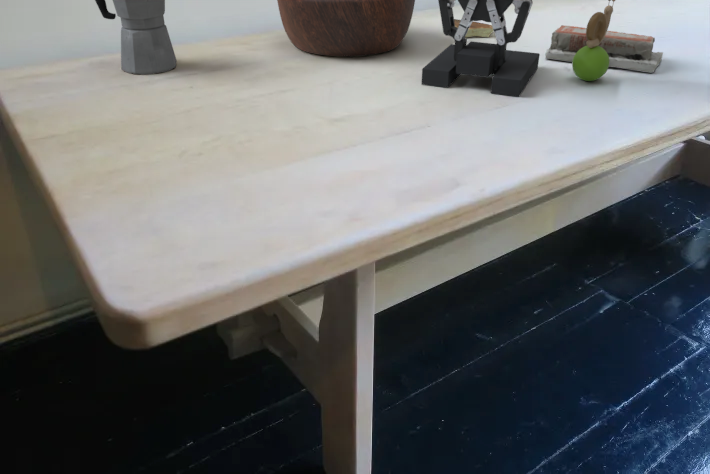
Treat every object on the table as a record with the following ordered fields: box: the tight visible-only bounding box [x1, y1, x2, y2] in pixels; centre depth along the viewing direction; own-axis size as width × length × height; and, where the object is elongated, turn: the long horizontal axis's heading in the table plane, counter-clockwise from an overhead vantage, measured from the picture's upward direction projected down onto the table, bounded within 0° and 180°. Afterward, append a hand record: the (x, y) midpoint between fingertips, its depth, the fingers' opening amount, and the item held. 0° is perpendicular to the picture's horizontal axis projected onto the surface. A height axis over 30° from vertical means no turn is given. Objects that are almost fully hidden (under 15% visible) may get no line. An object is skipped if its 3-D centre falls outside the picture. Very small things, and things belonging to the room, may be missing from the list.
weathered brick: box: [544, 24, 664, 74], centre depth 113 cm, size 18×5×10 cm
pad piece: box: [456, 41, 497, 78], centre depth 102 cm, size 5×8×3 cm, turn 157°
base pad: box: [421, 43, 541, 98], centre depth 105 cm, size 15×16×2 cm
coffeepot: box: [94, 0, 177, 75], centre depth 106 cm, size 15×9×18 cm, turn 77°
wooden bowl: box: [276, 0, 416, 57], centre depth 121 cm, size 25×25×10 cm
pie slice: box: [454, 18, 494, 39], centre depth 132 cm, size 11×8×2 cm
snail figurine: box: [571, 0, 616, 82], centre depth 102 cm, size 5×6×12 cm
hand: (478, 65), depth 102 cm, fingers closed on pad piece, 5 cm apart
